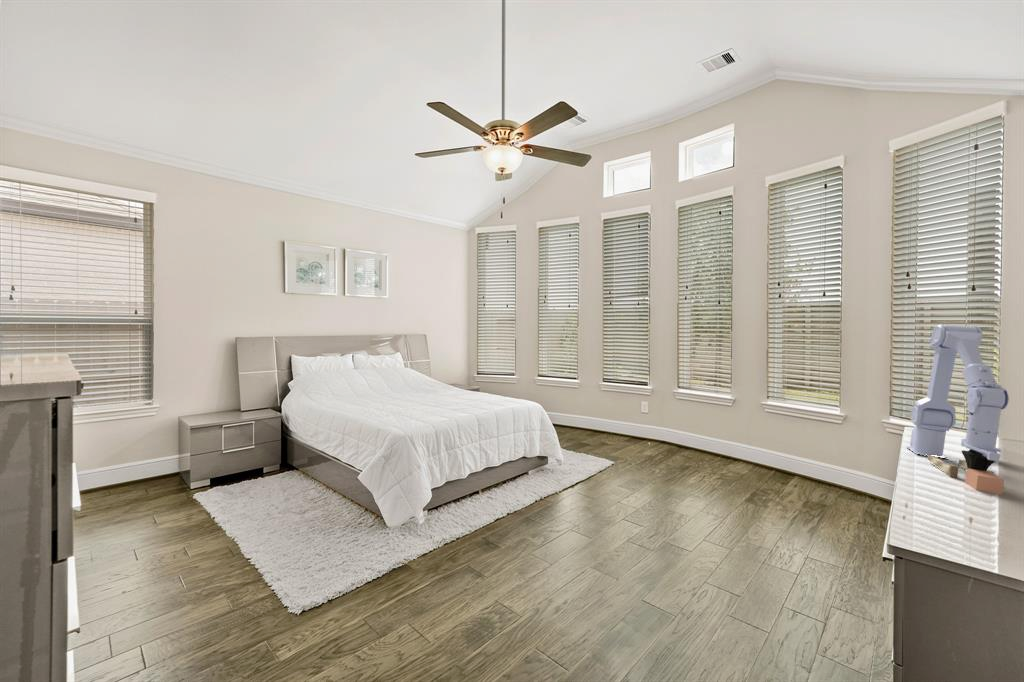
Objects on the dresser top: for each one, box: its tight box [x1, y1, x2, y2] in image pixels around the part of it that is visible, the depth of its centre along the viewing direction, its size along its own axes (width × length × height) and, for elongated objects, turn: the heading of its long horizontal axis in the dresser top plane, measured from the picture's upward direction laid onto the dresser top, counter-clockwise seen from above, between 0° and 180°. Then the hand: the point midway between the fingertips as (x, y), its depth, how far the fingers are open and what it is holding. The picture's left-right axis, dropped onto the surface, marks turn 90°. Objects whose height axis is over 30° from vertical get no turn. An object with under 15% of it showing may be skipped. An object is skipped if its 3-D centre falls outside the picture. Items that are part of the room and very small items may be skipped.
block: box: [964, 468, 1005, 495], centre depth 118 cm, size 6×5×4 cm
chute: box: [926, 455, 995, 479], centre depth 131 cm, size 15×9×3 cm, turn 155°
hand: (975, 478), depth 122 cm, fingers closed
